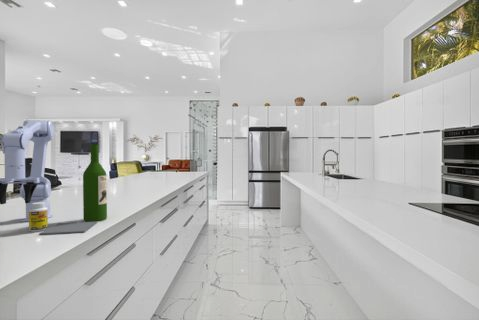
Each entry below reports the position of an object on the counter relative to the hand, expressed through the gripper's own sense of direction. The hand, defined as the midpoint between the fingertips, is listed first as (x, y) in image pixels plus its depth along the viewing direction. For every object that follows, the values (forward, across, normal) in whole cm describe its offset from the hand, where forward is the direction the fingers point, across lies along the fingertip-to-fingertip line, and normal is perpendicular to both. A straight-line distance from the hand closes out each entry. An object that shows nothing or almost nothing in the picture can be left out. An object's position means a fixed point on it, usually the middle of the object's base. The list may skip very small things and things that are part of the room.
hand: (15, 203), depth 97 cm
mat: (+10, +18, 0) cm, 21 cm away
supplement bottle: (+11, +7, 0) cm, 13 cm away
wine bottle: (+10, +23, +13) cm, 28 cm away
